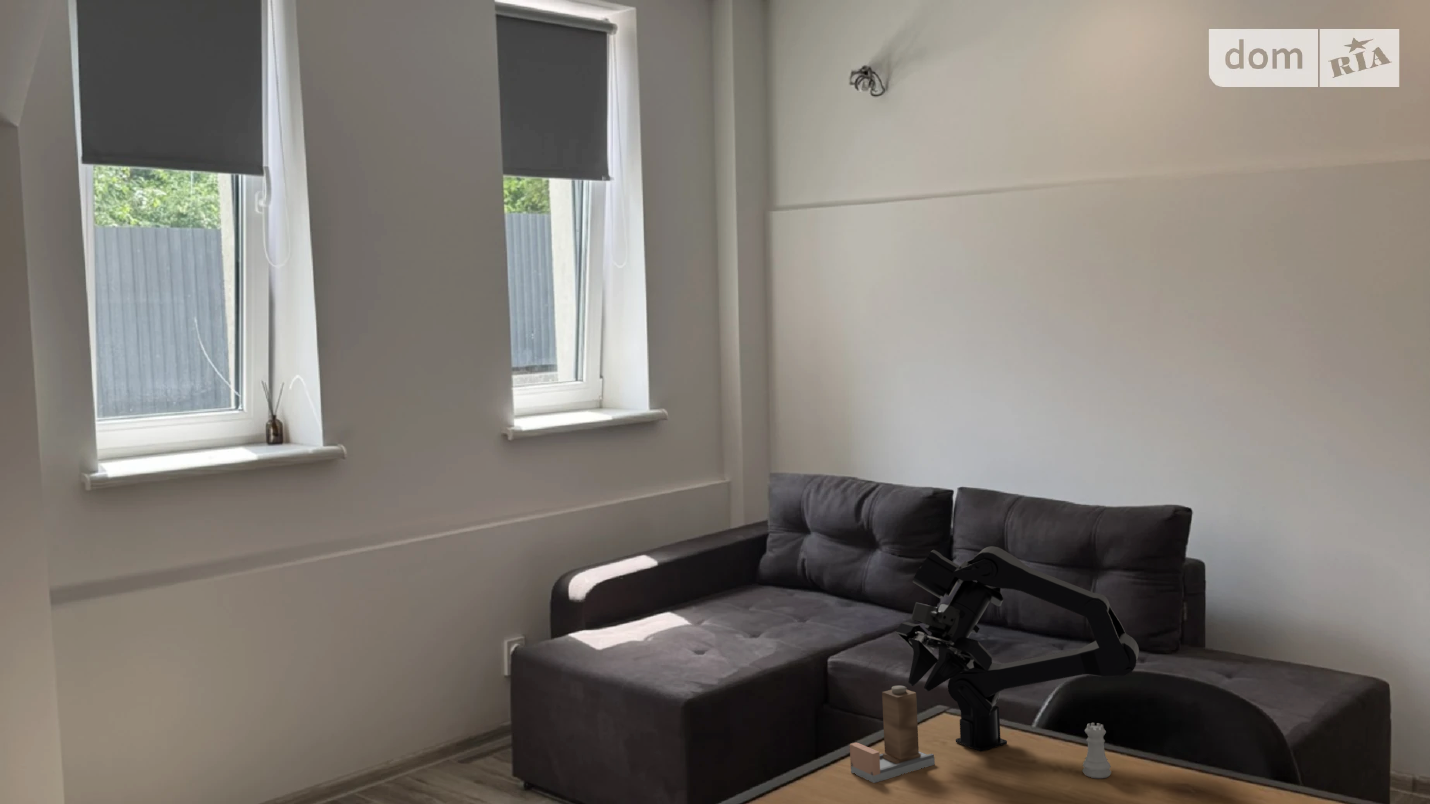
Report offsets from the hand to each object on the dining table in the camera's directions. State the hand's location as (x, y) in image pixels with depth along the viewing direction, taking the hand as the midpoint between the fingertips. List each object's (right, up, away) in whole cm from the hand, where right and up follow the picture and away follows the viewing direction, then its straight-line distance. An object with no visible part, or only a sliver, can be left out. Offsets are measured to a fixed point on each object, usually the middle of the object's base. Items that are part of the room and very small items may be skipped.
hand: (918, 687), depth 200 cm
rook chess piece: (+27, -12, -9) cm, 31 cm away
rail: (-5, -13, -2) cm, 14 cm away
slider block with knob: (-3, -12, -1) cm, 12 cm away
